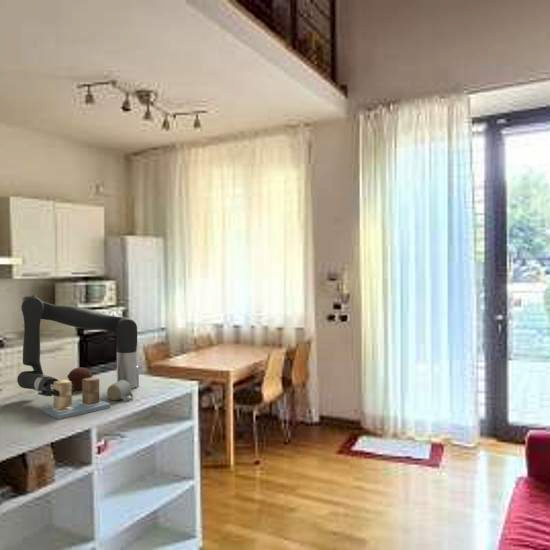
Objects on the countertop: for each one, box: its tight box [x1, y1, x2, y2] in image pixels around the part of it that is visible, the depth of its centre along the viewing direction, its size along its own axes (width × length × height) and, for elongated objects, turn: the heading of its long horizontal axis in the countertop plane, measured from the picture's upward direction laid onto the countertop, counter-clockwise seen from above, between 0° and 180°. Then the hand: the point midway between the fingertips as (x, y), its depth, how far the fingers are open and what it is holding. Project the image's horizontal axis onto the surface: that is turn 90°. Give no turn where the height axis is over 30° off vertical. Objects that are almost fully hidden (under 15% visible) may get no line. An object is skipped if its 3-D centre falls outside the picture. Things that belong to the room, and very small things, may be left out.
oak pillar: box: [53, 379, 73, 409], centre depth 214 cm, size 5×5×10 cm
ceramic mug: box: [106, 380, 134, 402], centre depth 235 cm, size 11×8×8 cm
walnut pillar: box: [81, 376, 100, 405], centre depth 223 cm, size 5×5×10 cm
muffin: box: [66, 366, 94, 392], centre depth 252 cm, size 12×11×10 cm
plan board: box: [42, 399, 112, 420], centre depth 219 cm, size 22×14×2 cm, turn 137°
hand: (65, 392), depth 212 cm, fingers closed on oak pillar, 5 cm apart
